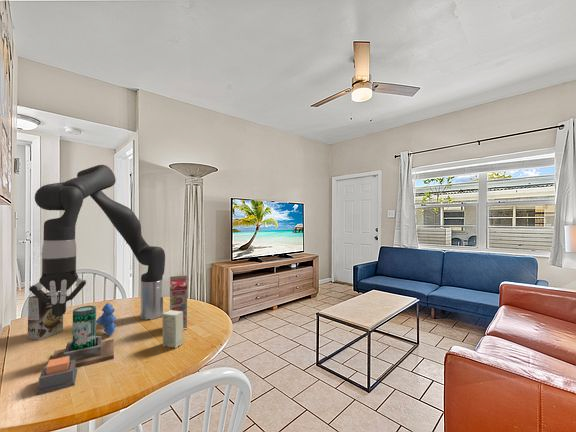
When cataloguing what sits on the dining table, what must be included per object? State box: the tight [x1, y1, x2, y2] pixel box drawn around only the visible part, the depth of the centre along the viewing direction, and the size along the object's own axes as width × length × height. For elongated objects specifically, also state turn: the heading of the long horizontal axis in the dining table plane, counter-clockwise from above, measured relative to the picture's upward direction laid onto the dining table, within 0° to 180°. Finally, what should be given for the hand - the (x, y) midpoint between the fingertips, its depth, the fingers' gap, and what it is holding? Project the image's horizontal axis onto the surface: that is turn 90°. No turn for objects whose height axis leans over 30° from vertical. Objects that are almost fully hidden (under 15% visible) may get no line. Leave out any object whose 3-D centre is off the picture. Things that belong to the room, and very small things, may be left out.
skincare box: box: [161, 309, 185, 348], centre depth 102 cm, size 6×4×12 cm
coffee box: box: [26, 291, 64, 341], centre depth 110 cm, size 9×6×16 cm
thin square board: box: [50, 335, 115, 369], centre depth 93 cm, size 17×14×4 cm
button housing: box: [36, 359, 78, 395], centre depth 78 cm, size 8×8×4 cm
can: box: [72, 305, 97, 351], centre depth 93 cm, size 6×6×15 cm
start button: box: [46, 356, 70, 375], centre depth 79 cm, size 5×5×3 cm
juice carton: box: [169, 275, 188, 328], centre depth 118 cm, size 7×7×22 cm
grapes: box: [96, 302, 117, 336], centre depth 110 cm, size 12×7×12 cm, turn 46°
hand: (58, 316), depth 79 cm, fingers closed
